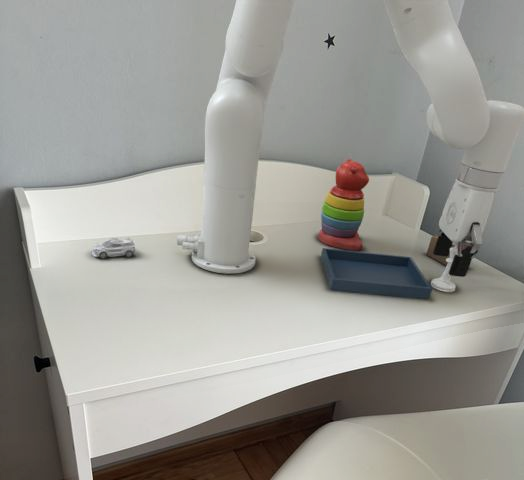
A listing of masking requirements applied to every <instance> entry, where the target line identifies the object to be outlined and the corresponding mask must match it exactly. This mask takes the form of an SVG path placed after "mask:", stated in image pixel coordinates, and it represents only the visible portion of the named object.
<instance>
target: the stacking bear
mask: <svg viewBox="0 0 524 480" xmlns="http://www.w3.org/2000/svg"><path fill="white" fill-rule="evenodd" d="M369 182H370V176H369V175H368V174H367V172H366V170H365V167H364V165H362V164H361V163H360V162H358V161H352V158H348V159H346V160H345V161H343V162H342V163H341V164H339V166H338V167H337V169H336V171H335V185H334V186H333V187H332V188H331V189H330V190H329V191H328V193H327V195H326V197H325V200H324V201H323V204H322V208H321V215H320V219H321V223H320V224H321V225H320V226H321V229H320V231H319V232H318V235H317V238H318V240H319V241H320V242H321V243H323V244H325V245H328V246H330V247H334V248H337V249H340V250H347V251H357V252H359V251H361V250H363V245H364V244H363V241H361V239H359V235H360V234H359V232H358V231H359V229H360V227H361V225H362V223H363V219H364V214H365V198H364V197H365V195H364V191H363V189H364V188H365V187H367V185H368V184H369Z"/></svg>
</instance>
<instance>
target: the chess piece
mask: <svg viewBox="0 0 524 480" xmlns="http://www.w3.org/2000/svg"><path fill="white" fill-rule="evenodd" d="M452 245H455V247H451V248H450V258H447V259H446V261H447V262H448V264H447V266H446V265H445V266H446V267H445V268H444V270H443V272H442V275H441V276H439V277H435V278H432V280H431V282H430V283H429V285H430V286H431V288H432V289H435V290H437V291H440V292H444V293H452V292H455V291H456V284H455V283H454V282H453V281H452V279H451V275H450V274H449V270H450V267H451V265H452V262H453V259H454V256H455V255H458V248H457V247H458V241H457V242H453V243H452Z"/></svg>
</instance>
